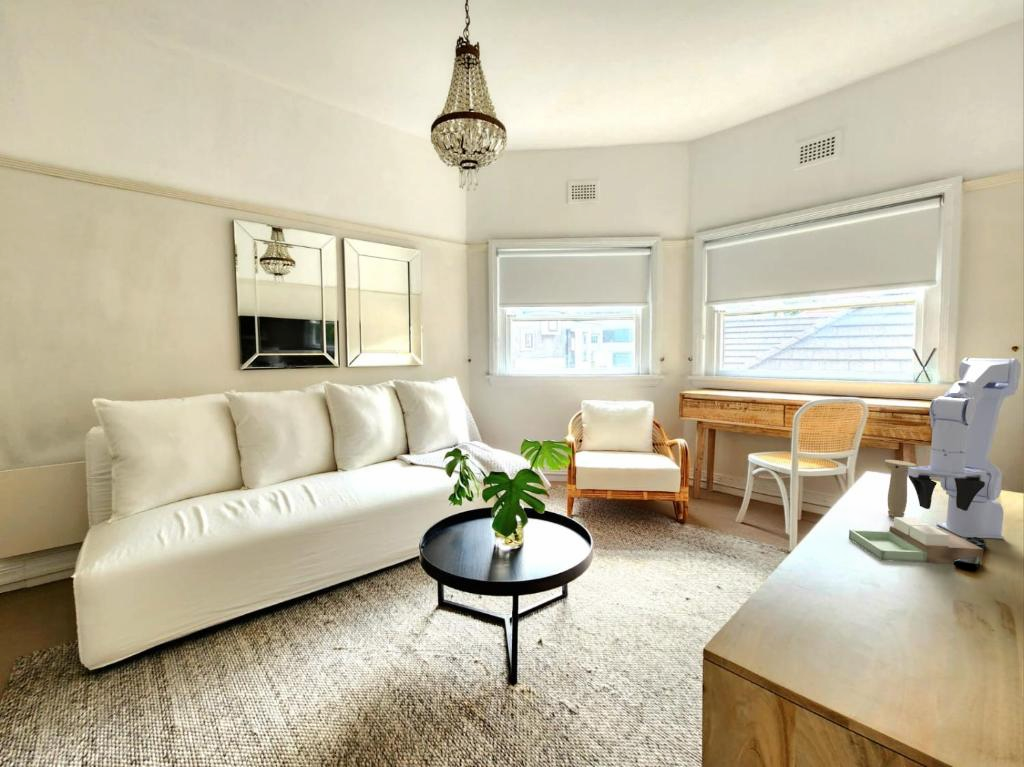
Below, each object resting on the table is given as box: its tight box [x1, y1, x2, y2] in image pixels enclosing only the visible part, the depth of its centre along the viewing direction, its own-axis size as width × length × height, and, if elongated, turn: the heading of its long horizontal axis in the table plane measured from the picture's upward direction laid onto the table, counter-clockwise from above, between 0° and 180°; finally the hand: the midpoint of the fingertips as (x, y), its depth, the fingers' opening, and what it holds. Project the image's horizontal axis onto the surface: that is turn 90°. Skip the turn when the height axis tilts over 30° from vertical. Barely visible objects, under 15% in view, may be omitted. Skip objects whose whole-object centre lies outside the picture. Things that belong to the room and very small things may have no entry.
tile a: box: [893, 516, 931, 535], centre depth 104 cm, size 4×4×2 cm
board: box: [889, 525, 984, 566], centre depth 102 cm, size 11×11×4 cm
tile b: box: [910, 525, 949, 546], centre depth 99 cm, size 4×4×2 cm
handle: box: [883, 459, 917, 518], centre depth 122 cm, size 5×6×15 cm
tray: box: [848, 529, 927, 563], centre depth 103 cm, size 9×11×2 cm
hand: (943, 508), depth 103 cm, fingers open, 7 cm apart
